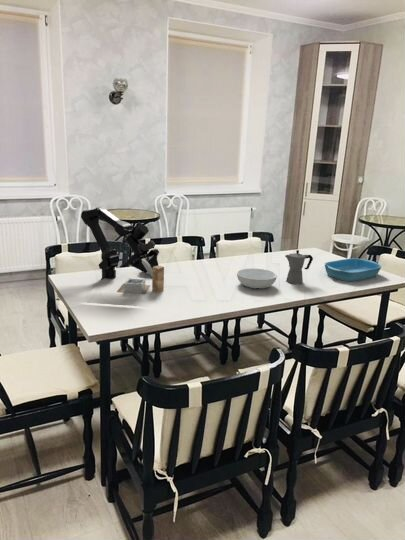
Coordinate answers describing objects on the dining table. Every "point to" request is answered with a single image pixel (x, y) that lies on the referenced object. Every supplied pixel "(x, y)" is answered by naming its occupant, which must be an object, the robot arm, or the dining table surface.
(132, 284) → the steel end cap
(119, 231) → the robot arm
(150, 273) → the grey napkin holder
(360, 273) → the casserole dish
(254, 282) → the serving bowl
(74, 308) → the dining table surface
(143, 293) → the walnut board
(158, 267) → the oak block
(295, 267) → the coffeepot
